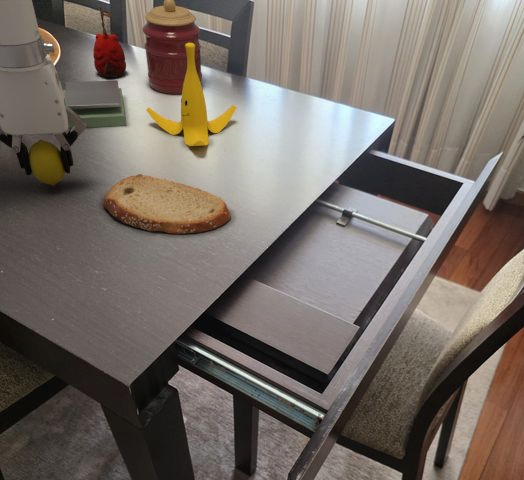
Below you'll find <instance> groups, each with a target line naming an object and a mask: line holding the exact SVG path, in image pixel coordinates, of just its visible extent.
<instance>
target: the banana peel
mask: <svg viewBox="0 0 524 480" xmlns="http://www.w3.org/2000/svg"><path fill="white" fill-rule="evenodd" d="M185 48H186V52H187V72H186V76H185V80H184V84H183V90H182V94H181V100H180V121H178V122H176V121H173V120H170V119H168V118H166V117H164V116H162V115H160V114H159V113H158V112H156V111H154V110H153V109H152V108H151V107H147V108H146V109H145V111H146V112H147V114H148V115H149V117H150V118H151V119H152V120H153V121H154V123H156V124H157V126H159V127H160V128H161V129H163V130H164V131H165V132H167V133H168V134H169V135H172V136H173V135H178V134H180V133H181V132H182V131H183V139H184V144H185V145H186V146H188V147H198V146H199V147H201V146H208V145H209V144H210V139H209V132H211V133H213V134H219V133H220V132H221V131H222V130H223V129H224V128H225V127H226V126H227V124H228V123H229V122H230V120H231V119H232V117H233V115H234V114H235V112H236V109H237V106H236V105H235V104H232V105H231V106H230V107H229V108H228V109H227V110H226V111H224V113H222V114H221V115H219V116H217V117H216V118H214V119H212V120H209V121H208V111H207V105H206V104H207V103H206V99H205V94H204V91H203V86H202V82H201V83H200V80H199V77H198V74H197V71H196V67H195V59H194V53H195V44H194V43H186V44H185Z"/></svg>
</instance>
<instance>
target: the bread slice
mask: <svg viewBox="0 0 524 480" xmlns="http://www.w3.org/2000/svg"><path fill="white" fill-rule="evenodd" d="M102 206H103V208H104V209H106V210H107V211H108V212H109V214H111V216H112V217H114V218H115V219H117V220H118V221H120V222H121V223H123V224H125V225H129V226H132V227H134V228H138V229H141V230H146V231H148V232H164V233H167V234H176V235H177V234H178V235H179V234H181V235H182V234H195V233H196V234H198V233H202V232H207V231H210V230H214V229H217V228H219V227H221V226H223V225H225V224H226V223H227V222H228V221H231V217H232V216H231V211H230V210H229V208H228V206H227V203H226V202H225V201H224V199H222V197H220V196H217V195H215V194H212V193H211V192H209V191H205V190H203V189H202V190H201V189H200V188H198V187H193V186H191V185H187V184H185V183H181V182H176V181H173V180H167V179H165V178H159V177H155V176H151V175H144V174H142V173H139V174H136V175H130V176H127V177H126V178H122V179H121V180H120V181H119V182H117V183H115V184H114V185H113V186H112V187H111V188H110V189H109V190H108V192H107V193H106V194H105V196H104V199H103V202H102Z"/></svg>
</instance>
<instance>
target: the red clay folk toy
mask: <svg viewBox="0 0 524 480" xmlns="http://www.w3.org/2000/svg"><path fill="white" fill-rule="evenodd" d="M98 11H99V14H100V19H101V27H102V33H96V34H95V41H94V45H93V53H92V54H93V65H94V69H95V70H96V72H97V73H98V74H99V76H101V77H104V78H112V79H114V78H119V77H122V76H123V75H125V73H126V69H127V62H126V55H125V51H124V48H122V45H121V43H120V42H119V39H118V36H117V35H116V34H114V33H112V34H108V33H107V31H106V28H105V27H106V25H105V21H104V17H107V18H110V19H112V14H111V13H110V12H109V13H104V11H103V9H102V6H99V8H98Z"/></svg>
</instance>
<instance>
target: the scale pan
mask: <svg viewBox="0 0 524 480" xmlns="http://www.w3.org/2000/svg"><path fill="white" fill-rule="evenodd" d="M119 88H120V87H119V80H117V79H116V80H115V79H114V80H90V81H89V80H88V81H86V80H85V81H66V83H65V90H66V94H65V100H66V104H67V106H68V107H69V108H70V109H79V108H102V107H121V105H120V96H119Z"/></svg>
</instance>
